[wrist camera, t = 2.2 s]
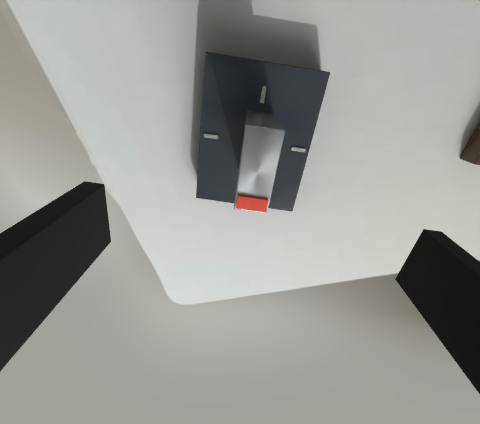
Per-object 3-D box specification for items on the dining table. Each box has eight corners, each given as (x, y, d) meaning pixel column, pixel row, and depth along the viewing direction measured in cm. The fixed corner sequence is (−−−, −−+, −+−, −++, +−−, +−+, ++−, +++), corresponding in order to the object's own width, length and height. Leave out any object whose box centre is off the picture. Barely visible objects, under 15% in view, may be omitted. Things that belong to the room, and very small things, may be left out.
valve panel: (210, 54, 24) (205, 51, 22) (321, 72, 25) (330, 72, 22) (200, 187, 31) (195, 198, 28) (288, 200, 31) (292, 212, 28)
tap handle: (247, 108, 24) (246, 125, 16) (273, 113, 24) (286, 131, 16) (238, 169, 26) (233, 210, 18) (261, 173, 27) (267, 215, 18)
